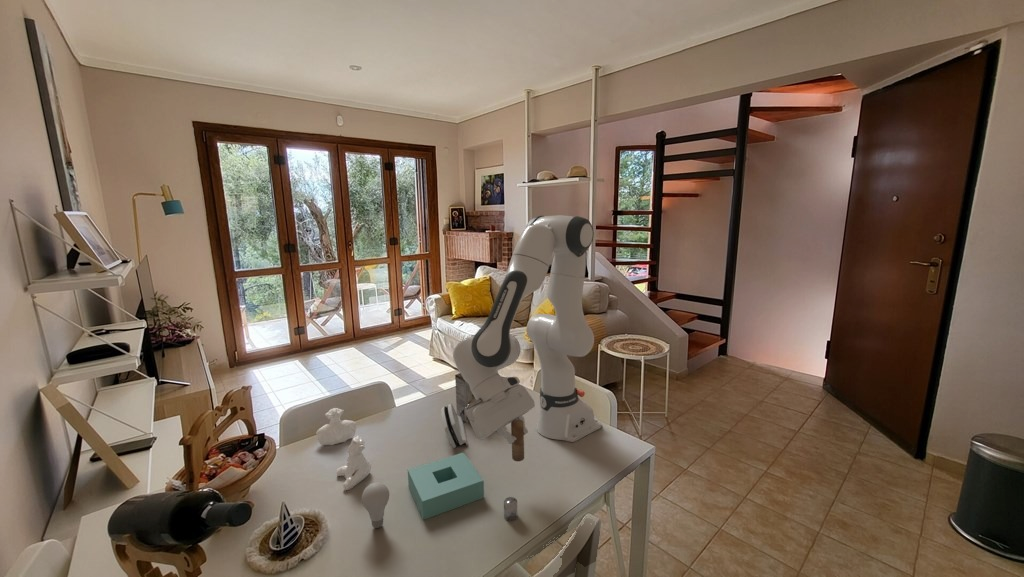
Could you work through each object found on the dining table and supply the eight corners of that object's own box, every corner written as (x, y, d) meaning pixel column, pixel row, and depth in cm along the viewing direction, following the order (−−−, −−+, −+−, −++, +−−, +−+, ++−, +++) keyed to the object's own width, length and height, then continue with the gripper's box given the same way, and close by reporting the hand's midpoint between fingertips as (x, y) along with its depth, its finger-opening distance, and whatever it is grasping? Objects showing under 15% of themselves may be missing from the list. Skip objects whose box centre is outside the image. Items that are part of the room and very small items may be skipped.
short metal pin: (513, 509, 100) (513, 495, 100) (519, 518, 98) (519, 503, 97) (501, 514, 99) (501, 499, 98) (507, 522, 96) (507, 508, 95)
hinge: (468, 446, 128) (456, 420, 125) (454, 452, 127) (442, 426, 125) (462, 420, 144) (452, 396, 141) (450, 425, 143) (439, 402, 141)
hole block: (463, 468, 117) (463, 452, 116) (483, 497, 105) (483, 480, 104) (408, 485, 109) (407, 469, 108) (423, 519, 97) (422, 501, 96)
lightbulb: (374, 514, 99) (371, 474, 97) (396, 520, 97) (393, 479, 95) (358, 533, 93) (354, 491, 91) (381, 539, 91) (378, 496, 89)
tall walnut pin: (520, 452, 109) (519, 418, 107) (526, 458, 106) (525, 424, 104) (510, 456, 107) (508, 421, 105) (515, 462, 105) (514, 427, 102)
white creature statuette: (335, 474, 114) (331, 435, 112) (365, 463, 120) (362, 425, 117) (344, 492, 107) (341, 451, 105) (377, 479, 112) (374, 439, 110)
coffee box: (475, 408, 153) (474, 367, 150) (486, 414, 148) (485, 372, 145) (455, 416, 147) (454, 374, 144) (466, 422, 142) (465, 379, 139)
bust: (357, 440, 135) (351, 407, 140) (359, 436, 130) (353, 401, 134) (317, 451, 130) (313, 416, 134) (318, 447, 124) (313, 410, 128)
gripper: (467, 401, 100) (497, 452, 96) (521, 375, 115) (549, 417, 110) (456, 412, 104) (485, 461, 99) (510, 385, 119) (536, 426, 114)
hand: (519, 438), depth 105 cm, fingers closed on tall walnut pin, 3 cm apart
